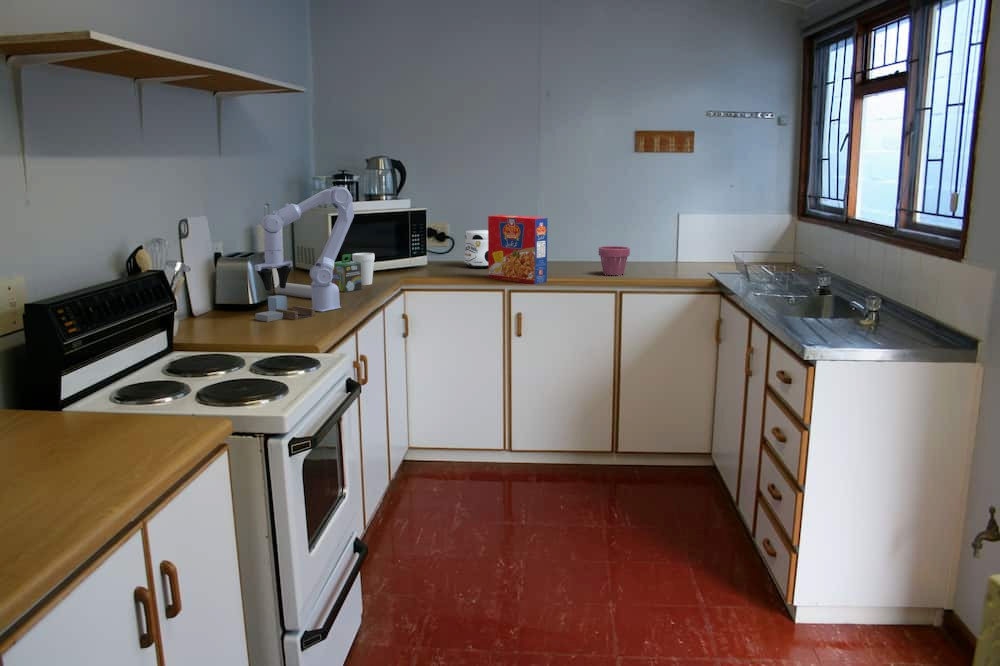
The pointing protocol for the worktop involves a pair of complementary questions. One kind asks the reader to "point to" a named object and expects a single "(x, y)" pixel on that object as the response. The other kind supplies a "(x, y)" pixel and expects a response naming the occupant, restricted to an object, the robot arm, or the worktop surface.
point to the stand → (269, 316)
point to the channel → (297, 312)
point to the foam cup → (365, 266)
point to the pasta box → (517, 248)
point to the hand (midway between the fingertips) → (275, 289)
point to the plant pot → (613, 259)
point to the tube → (295, 290)
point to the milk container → (476, 248)
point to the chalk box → (347, 275)
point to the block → (277, 302)
